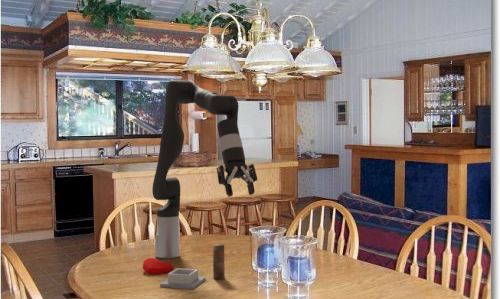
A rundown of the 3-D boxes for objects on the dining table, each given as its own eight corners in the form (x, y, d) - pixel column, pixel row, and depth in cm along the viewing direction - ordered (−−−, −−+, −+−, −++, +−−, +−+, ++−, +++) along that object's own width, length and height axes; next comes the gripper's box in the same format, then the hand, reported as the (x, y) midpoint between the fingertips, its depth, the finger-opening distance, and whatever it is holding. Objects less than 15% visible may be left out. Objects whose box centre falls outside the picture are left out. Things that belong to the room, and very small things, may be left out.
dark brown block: (211, 279, 195) (211, 246, 194) (215, 276, 198) (215, 243, 198) (222, 280, 193) (222, 246, 193) (226, 277, 197) (225, 244, 197)
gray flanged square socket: (160, 286, 186) (159, 275, 186) (174, 277, 197) (174, 266, 197) (192, 289, 183) (192, 277, 182) (205, 279, 194) (205, 268, 194)
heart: (160, 281, 198) (175, 272, 207) (161, 270, 198) (176, 261, 207) (133, 273, 203) (149, 264, 212) (134, 262, 202) (150, 254, 211)
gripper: (243, 152, 194) (252, 196, 190) (208, 153, 186) (217, 199, 182) (255, 145, 188) (264, 191, 184) (219, 146, 180) (229, 193, 176)
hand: (241, 195), depth 183 cm, fingers open, 8 cm apart
